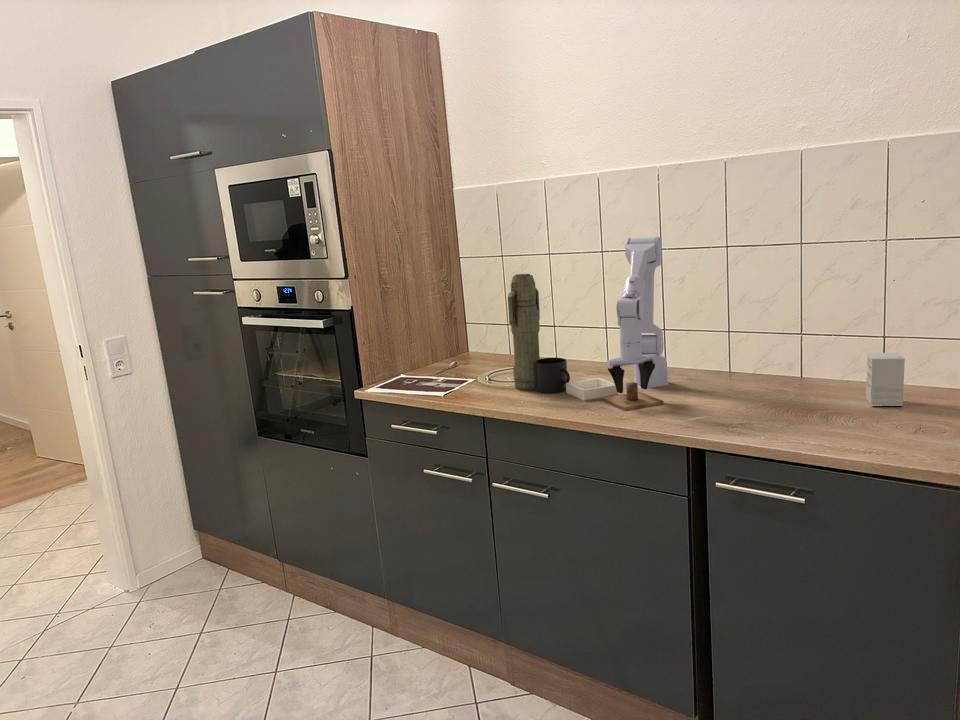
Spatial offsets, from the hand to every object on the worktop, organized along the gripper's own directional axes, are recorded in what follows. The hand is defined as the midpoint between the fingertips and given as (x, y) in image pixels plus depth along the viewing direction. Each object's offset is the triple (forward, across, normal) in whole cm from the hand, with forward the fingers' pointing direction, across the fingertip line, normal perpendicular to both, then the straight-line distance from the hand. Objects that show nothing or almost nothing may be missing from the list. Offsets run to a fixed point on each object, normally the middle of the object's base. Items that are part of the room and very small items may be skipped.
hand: (632, 390), depth 202 cm
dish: (+4, -5, +14) cm, 15 cm away
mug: (+4, -11, +26) cm, 29 cm away
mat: (+4, 0, 0) cm, 4 cm away
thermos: (+4, -16, +35) cm, 39 cm away
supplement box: (+4, +52, -35) cm, 63 cm away
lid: (+3, 0, 0) cm, 3 cm away
